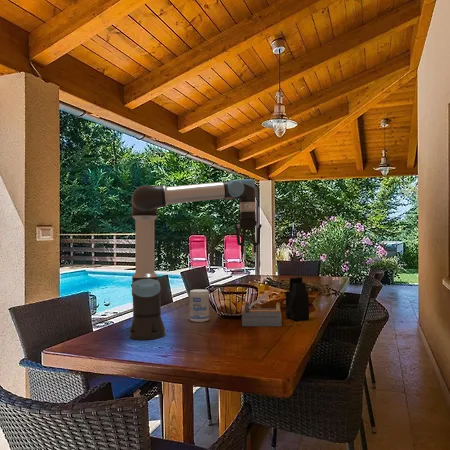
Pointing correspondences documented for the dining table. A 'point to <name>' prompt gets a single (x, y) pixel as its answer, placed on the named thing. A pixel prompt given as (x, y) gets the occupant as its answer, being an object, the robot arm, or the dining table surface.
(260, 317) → the heatsink block
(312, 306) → the dining table surface
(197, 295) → the supplement tub
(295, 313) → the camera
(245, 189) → the robot arm
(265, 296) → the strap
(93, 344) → the dining table surface
